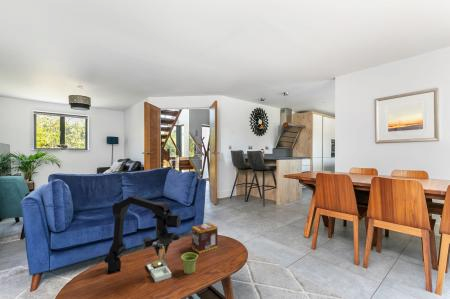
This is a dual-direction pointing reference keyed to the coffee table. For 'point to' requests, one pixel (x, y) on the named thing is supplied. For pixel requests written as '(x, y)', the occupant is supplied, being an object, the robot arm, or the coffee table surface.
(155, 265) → the brass plunger
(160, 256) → the copper cell
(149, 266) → the grey square tray
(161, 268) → the trough
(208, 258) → the coffee table surface
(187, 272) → the plant pot
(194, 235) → the supplement box
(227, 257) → the coffee table surface
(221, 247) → the coffee table surface
